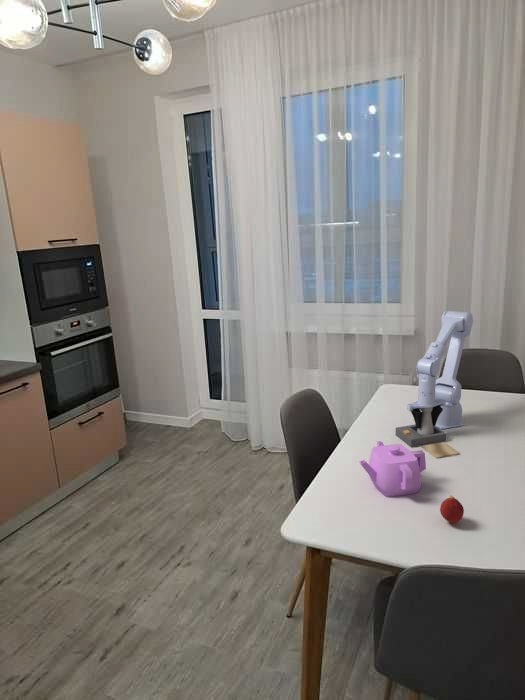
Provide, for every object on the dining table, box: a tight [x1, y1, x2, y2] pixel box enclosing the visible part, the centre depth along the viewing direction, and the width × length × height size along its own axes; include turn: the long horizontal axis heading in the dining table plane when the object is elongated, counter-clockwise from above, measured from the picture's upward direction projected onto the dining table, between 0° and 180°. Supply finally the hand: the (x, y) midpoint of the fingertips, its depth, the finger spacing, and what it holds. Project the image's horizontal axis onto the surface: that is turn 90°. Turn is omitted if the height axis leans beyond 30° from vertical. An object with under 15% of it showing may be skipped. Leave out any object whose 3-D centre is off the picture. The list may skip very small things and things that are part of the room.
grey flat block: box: [395, 424, 447, 448], centre depth 179 cm, size 14×11×4 cm
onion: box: [439, 494, 465, 524], centre depth 129 cm, size 6×6×8 cm
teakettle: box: [359, 440, 427, 498], centre depth 149 cm, size 17×17×12 cm
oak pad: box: [421, 442, 461, 459], centre depth 169 cm, size 9×9×1 cm
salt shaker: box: [417, 407, 434, 436], centre depth 178 cm, size 6×6×13 cm
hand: (425, 426), depth 179 cm, fingers open, 5 cm apart
